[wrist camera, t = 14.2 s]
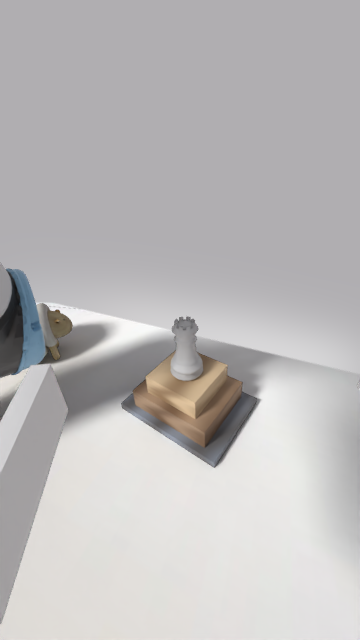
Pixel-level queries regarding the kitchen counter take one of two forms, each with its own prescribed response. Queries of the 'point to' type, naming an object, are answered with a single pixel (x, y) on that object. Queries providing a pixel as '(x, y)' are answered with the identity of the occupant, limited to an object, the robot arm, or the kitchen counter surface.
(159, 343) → the kitchen counter surface
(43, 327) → the toy sheep
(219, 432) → the plinth
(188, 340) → the rook chess piece
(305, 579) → the kitchen counter surface
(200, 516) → the kitchen counter surface
